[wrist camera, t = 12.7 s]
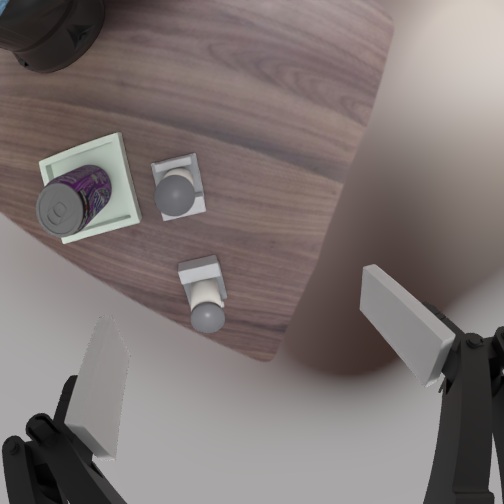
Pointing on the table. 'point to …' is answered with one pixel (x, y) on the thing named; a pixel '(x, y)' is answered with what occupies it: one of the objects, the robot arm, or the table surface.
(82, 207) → the beverage can
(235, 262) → the table surface
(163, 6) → the table surface
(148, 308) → the table surface
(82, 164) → the tray
